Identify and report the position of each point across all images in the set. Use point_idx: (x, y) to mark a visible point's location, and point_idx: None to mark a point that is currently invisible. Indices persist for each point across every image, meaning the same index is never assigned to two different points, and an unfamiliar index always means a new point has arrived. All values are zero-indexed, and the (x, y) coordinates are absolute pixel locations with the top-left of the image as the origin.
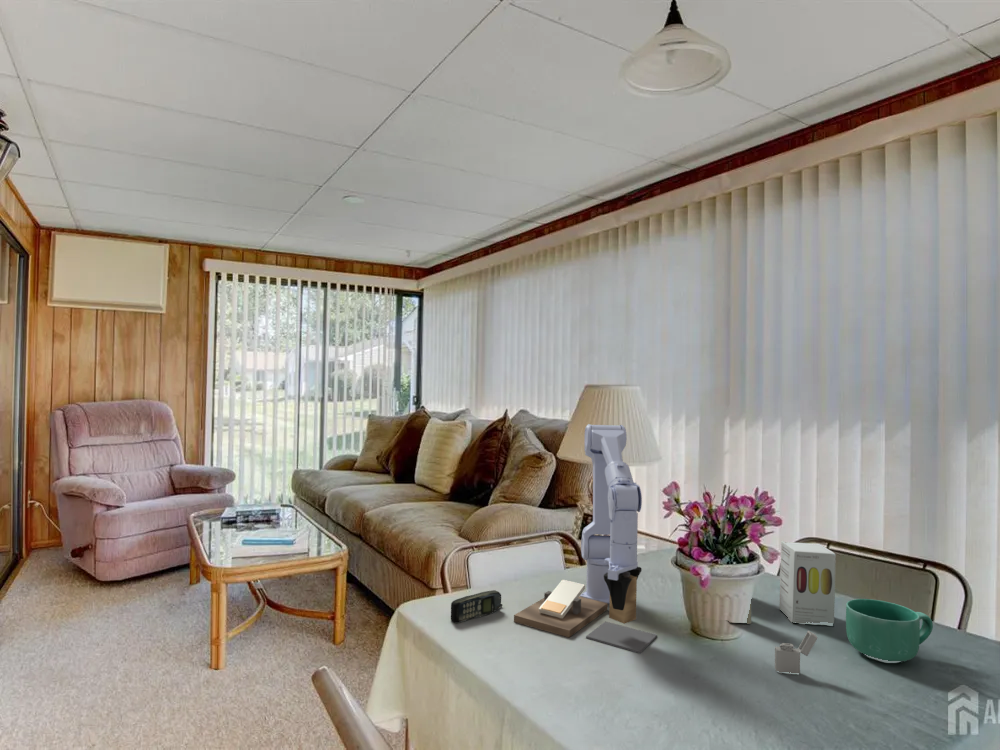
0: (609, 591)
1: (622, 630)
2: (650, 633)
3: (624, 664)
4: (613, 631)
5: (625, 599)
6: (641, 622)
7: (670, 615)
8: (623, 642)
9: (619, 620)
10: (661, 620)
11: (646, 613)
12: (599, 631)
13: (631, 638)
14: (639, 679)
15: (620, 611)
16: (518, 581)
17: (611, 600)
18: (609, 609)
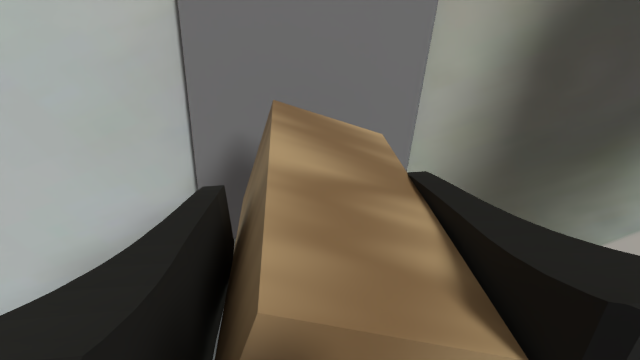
0: (115, 256)
1: (363, 112)
2: None
3: (70, 221)
4: (328, 79)
5: (219, 311)
6: (516, 140)
7: (632, 209)
8: (237, 162)
9: (250, 175)
10: (566, 198)
11: (635, 124)
12: (284, 13)
13: None
14: (13, 291)
15: (244, 209)
16: None
17: (176, 209)
18: (272, 117)
